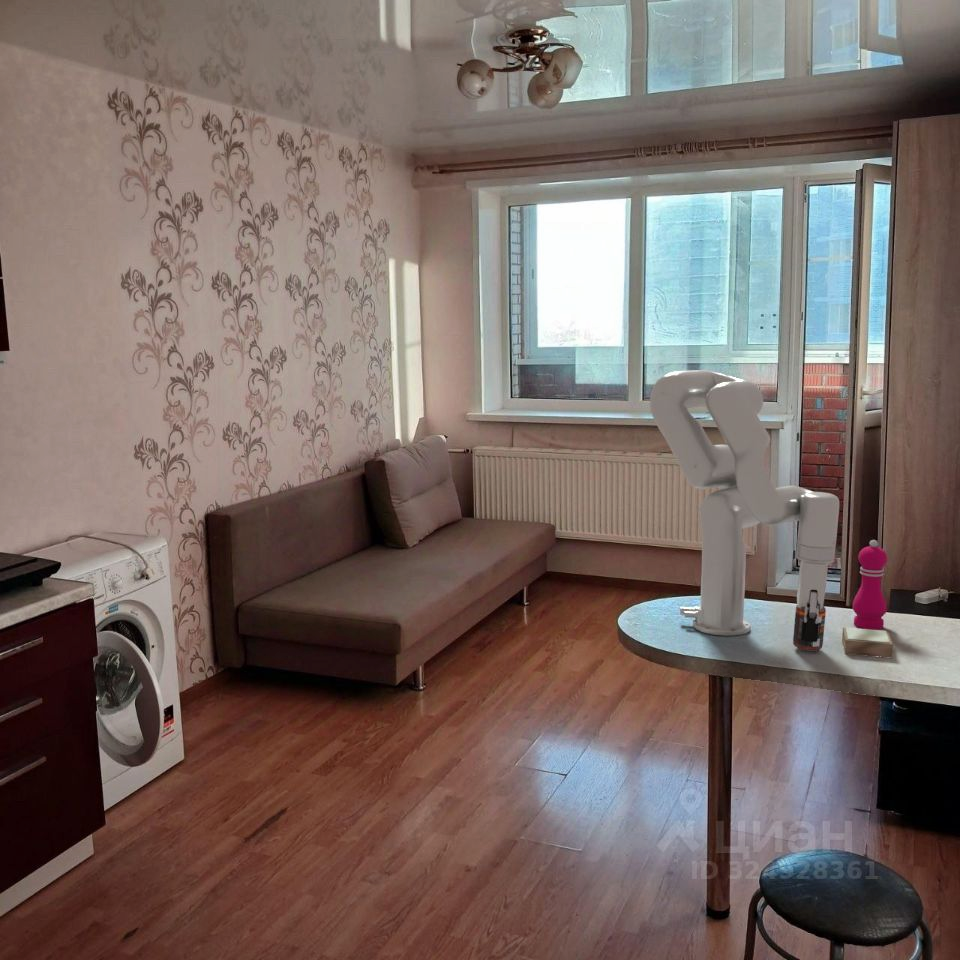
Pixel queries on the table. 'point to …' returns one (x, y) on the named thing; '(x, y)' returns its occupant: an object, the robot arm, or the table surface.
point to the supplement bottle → (798, 630)
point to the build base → (867, 642)
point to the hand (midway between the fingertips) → (808, 634)
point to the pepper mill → (870, 589)
